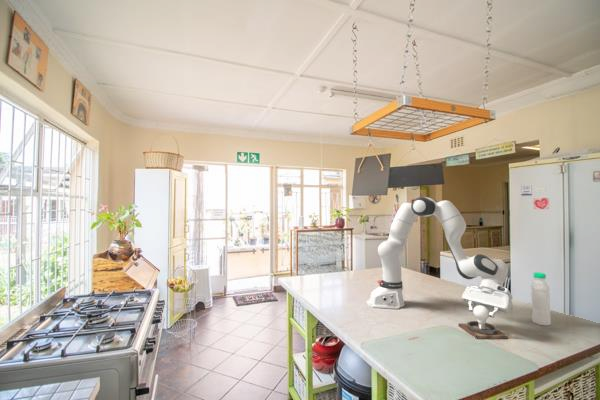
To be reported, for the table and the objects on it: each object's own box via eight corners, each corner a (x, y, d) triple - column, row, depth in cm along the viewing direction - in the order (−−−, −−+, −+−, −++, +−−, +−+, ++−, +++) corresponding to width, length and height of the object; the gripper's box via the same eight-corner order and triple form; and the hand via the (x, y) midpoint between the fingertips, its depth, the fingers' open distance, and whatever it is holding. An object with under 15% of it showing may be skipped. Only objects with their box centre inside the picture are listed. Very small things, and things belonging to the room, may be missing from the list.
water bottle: (546, 327, 135) (544, 275, 136) (529, 322, 142) (527, 272, 143) (553, 324, 138) (551, 273, 140) (536, 319, 145) (534, 271, 146)
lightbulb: (490, 333, 126) (489, 308, 126) (473, 330, 129) (472, 306, 130) (489, 328, 131) (488, 304, 132) (473, 325, 135) (473, 302, 135)
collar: (477, 334, 125) (476, 331, 125) (462, 324, 136) (462, 321, 136) (503, 334, 125) (503, 331, 125) (486, 324, 136) (486, 321, 136)
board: (476, 338, 124) (475, 336, 124) (458, 325, 138) (458, 323, 138) (507, 338, 123) (507, 336, 123) (487, 325, 137) (487, 323, 137)
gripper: (465, 280, 144) (455, 303, 138) (512, 290, 127) (502, 316, 121) (470, 288, 146) (460, 310, 140) (516, 298, 129) (507, 324, 123)
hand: (480, 313), depth 130 cm, fingers open, 8 cm apart
